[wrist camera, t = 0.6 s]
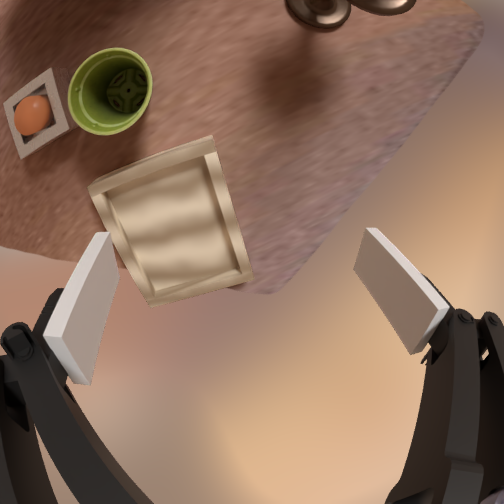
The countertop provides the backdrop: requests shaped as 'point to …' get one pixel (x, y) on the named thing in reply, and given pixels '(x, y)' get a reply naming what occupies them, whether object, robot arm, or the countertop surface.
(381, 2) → the candlestick
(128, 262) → the tray
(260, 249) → the countertop surface
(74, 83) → the plant pot
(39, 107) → the button
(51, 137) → the button housing
